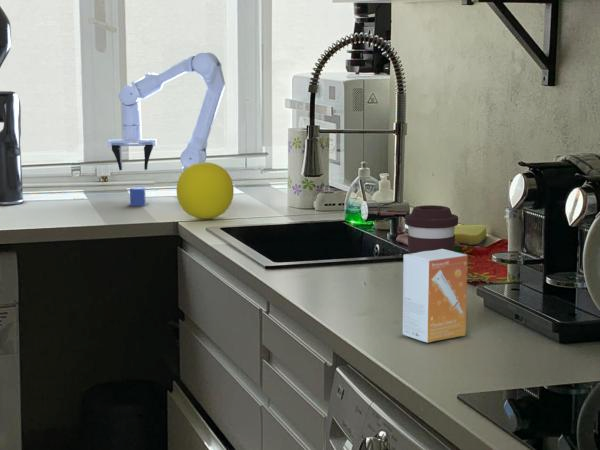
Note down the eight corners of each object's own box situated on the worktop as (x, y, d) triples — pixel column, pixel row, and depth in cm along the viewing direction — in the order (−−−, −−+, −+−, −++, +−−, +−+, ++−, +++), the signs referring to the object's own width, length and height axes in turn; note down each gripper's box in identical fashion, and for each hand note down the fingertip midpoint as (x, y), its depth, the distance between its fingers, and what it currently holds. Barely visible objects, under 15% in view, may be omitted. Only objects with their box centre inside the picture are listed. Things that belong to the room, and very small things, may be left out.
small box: (427, 344, 159) (428, 260, 157) (401, 334, 164) (401, 253, 162) (467, 335, 164) (468, 254, 161) (440, 327, 169) (441, 247, 167)
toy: (224, 212, 289) (223, 158, 287) (240, 220, 275) (239, 164, 273) (171, 216, 284) (169, 161, 282) (185, 224, 270) (183, 166, 268)
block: (130, 206, 304) (129, 189, 304) (131, 203, 309) (131, 187, 308) (144, 205, 305) (143, 189, 304) (145, 203, 309) (145, 187, 308)
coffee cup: (400, 280, 202) (400, 204, 200) (450, 279, 203) (451, 203, 201) (409, 292, 193) (410, 212, 190) (462, 291, 193) (463, 211, 191)
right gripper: (106, 126, 314) (107, 171, 316) (154, 125, 315) (156, 170, 317) (108, 124, 321) (110, 168, 323) (156, 124, 322) (157, 168, 324)
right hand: (133, 169), depth 321 cm, fingers open, 7 cm apart
